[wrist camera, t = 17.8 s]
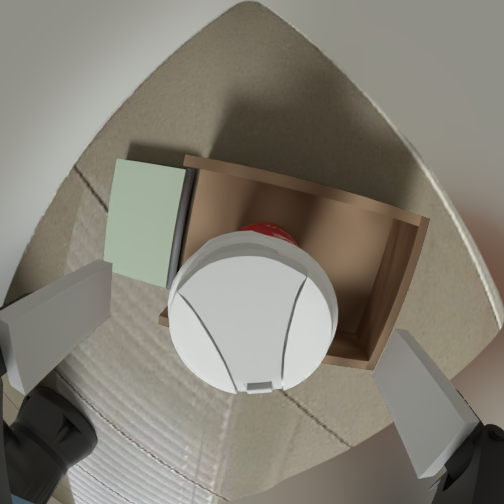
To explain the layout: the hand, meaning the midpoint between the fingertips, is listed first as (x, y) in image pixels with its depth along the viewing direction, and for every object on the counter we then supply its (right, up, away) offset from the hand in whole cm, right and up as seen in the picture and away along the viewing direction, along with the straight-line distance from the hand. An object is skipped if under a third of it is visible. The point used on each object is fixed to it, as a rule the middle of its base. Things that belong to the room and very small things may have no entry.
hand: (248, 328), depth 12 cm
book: (-6, +5, +13) cm, 16 cm away
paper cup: (+1, +3, +13) cm, 14 cm away
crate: (+3, +3, +14) cm, 15 cm away
